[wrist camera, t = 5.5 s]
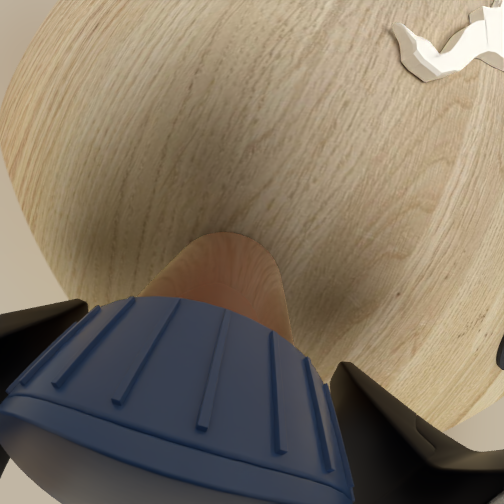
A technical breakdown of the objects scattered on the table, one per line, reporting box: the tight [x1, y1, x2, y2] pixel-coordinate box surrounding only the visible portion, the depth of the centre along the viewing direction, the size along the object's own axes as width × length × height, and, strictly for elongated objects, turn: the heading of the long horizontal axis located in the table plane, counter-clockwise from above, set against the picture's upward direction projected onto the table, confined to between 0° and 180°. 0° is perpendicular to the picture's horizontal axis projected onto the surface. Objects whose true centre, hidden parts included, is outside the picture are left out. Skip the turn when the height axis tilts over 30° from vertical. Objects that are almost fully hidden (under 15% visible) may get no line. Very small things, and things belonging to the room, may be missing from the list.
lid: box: [0, 296, 355, 504], centre depth 4 cm, size 7×7×3 cm
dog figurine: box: [392, 0, 504, 82], centre depth 7 cm, size 2×13×20 cm
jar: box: [137, 232, 294, 346], centre depth 8 cm, size 6×6×11 cm
